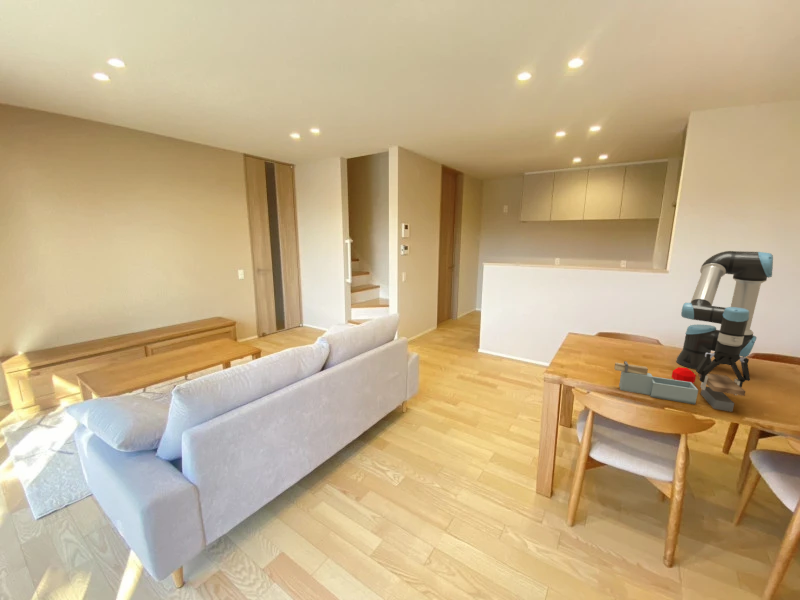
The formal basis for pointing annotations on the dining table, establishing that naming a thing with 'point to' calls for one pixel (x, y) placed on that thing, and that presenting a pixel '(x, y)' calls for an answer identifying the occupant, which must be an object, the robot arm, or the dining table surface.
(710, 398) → the block
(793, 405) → the dining table surface
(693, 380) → the ball
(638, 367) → the bar
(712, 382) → the lid
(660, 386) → the open box
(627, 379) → the grey block with peg
